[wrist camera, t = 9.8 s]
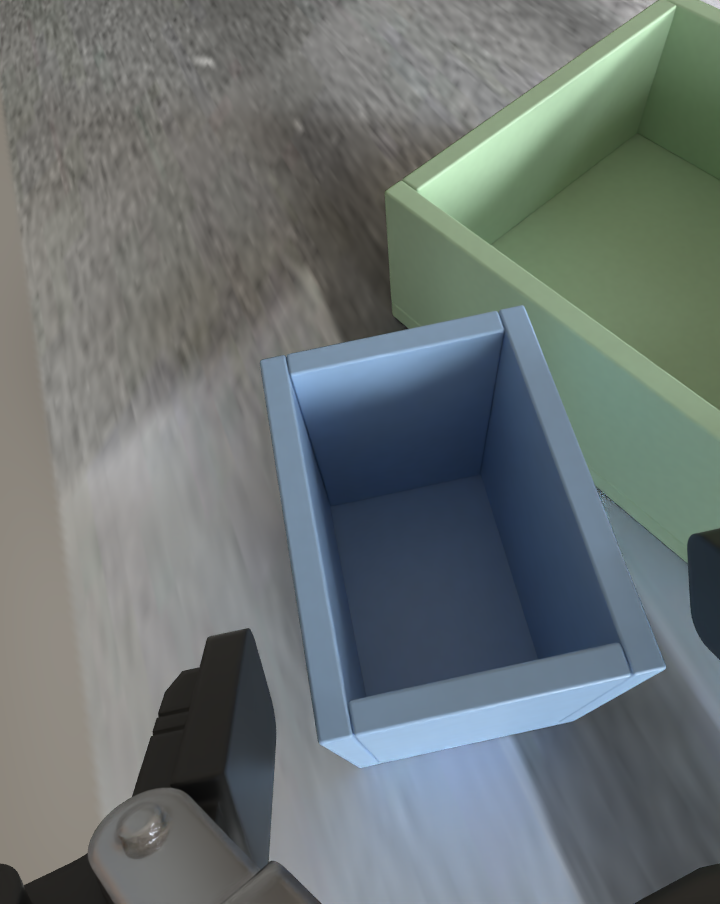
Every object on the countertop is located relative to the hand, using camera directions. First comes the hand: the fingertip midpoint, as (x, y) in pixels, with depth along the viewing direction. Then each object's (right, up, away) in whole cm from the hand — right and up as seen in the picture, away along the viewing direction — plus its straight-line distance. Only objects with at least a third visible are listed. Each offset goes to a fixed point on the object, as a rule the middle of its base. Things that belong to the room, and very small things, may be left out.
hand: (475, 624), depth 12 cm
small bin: (0, -1, +8) cm, 8 cm away
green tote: (+9, +8, +12) cm, 17 cm away
